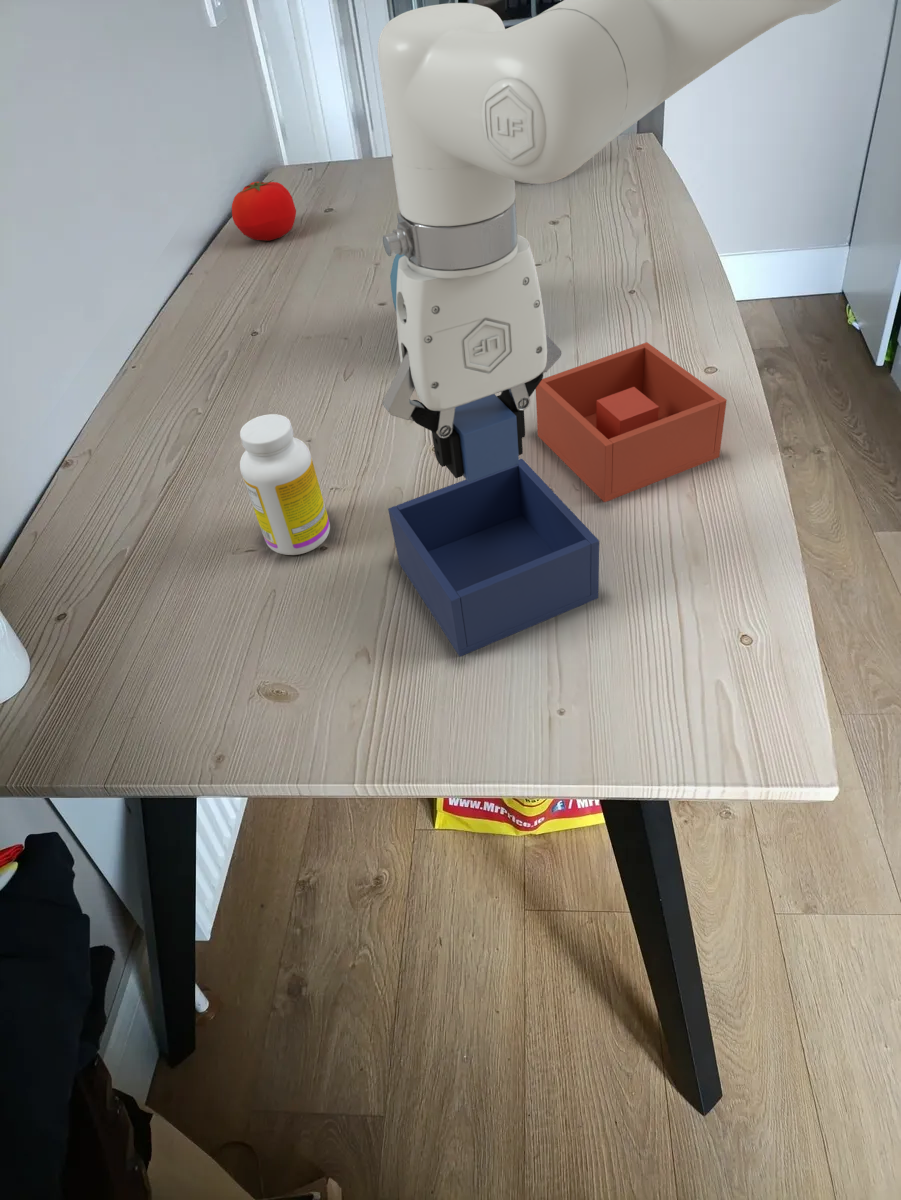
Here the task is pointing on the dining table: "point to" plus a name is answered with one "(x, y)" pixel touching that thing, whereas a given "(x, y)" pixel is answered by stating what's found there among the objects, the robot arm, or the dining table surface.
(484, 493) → the blue bin
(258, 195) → the tomato
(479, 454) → the blue block
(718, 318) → the dining table surface
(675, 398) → the red bin
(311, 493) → the supplement bottle
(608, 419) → the red block
